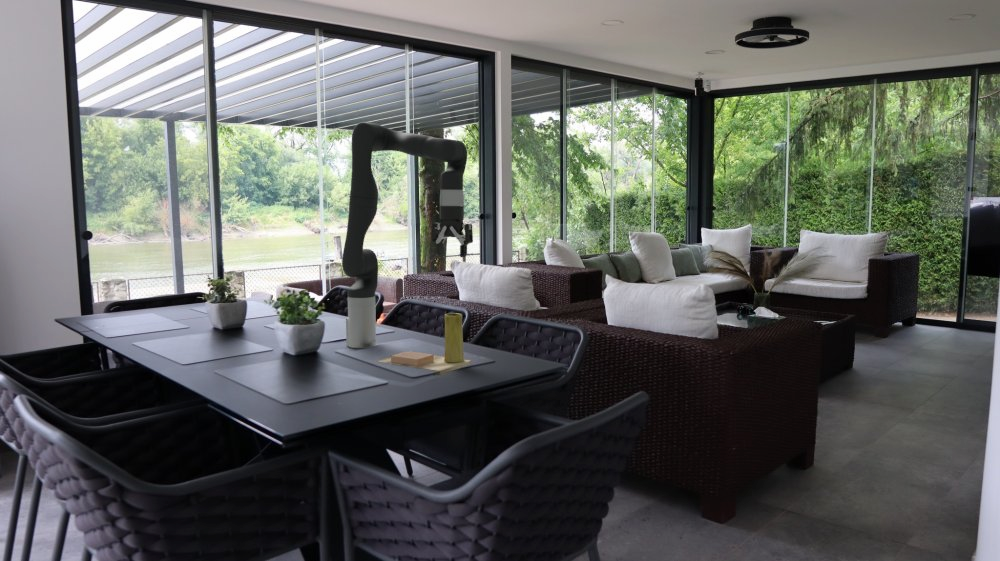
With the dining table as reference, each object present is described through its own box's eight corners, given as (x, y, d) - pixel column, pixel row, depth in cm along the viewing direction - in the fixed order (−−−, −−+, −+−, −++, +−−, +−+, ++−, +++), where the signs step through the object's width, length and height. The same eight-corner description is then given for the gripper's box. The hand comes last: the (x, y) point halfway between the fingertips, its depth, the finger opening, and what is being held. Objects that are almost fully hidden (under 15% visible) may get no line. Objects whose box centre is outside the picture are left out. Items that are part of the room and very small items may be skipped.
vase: (455, 363, 217) (454, 316, 216) (439, 361, 221) (438, 314, 219) (468, 360, 222) (467, 314, 220) (453, 357, 226) (452, 312, 224)
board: (375, 365, 221) (375, 361, 221) (408, 355, 235) (408, 352, 234) (440, 374, 209) (440, 370, 208) (470, 364, 222) (470, 360, 222)
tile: (390, 355, 219) (417, 359, 214) (407, 351, 226) (433, 354, 220) (390, 362, 219) (417, 366, 214) (407, 357, 226) (433, 361, 221)
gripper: (426, 204, 228) (426, 256, 230) (464, 204, 220) (463, 258, 222) (440, 204, 234) (440, 254, 236) (477, 204, 227) (477, 256, 229)
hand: (451, 256), depth 229 cm, fingers open, 8 cm apart
